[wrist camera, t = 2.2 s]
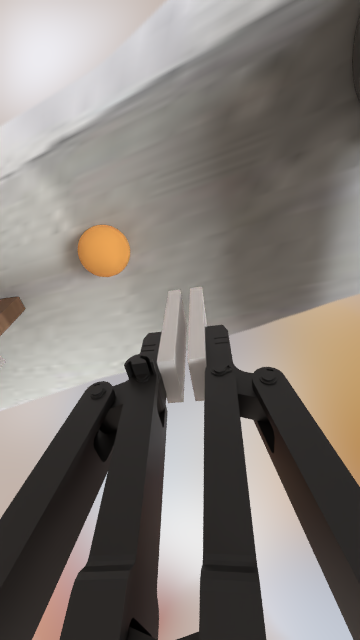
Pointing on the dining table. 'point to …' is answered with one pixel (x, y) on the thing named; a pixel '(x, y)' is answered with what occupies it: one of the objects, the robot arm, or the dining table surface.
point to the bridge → (9, 312)
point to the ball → (103, 250)
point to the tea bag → (2, 361)
